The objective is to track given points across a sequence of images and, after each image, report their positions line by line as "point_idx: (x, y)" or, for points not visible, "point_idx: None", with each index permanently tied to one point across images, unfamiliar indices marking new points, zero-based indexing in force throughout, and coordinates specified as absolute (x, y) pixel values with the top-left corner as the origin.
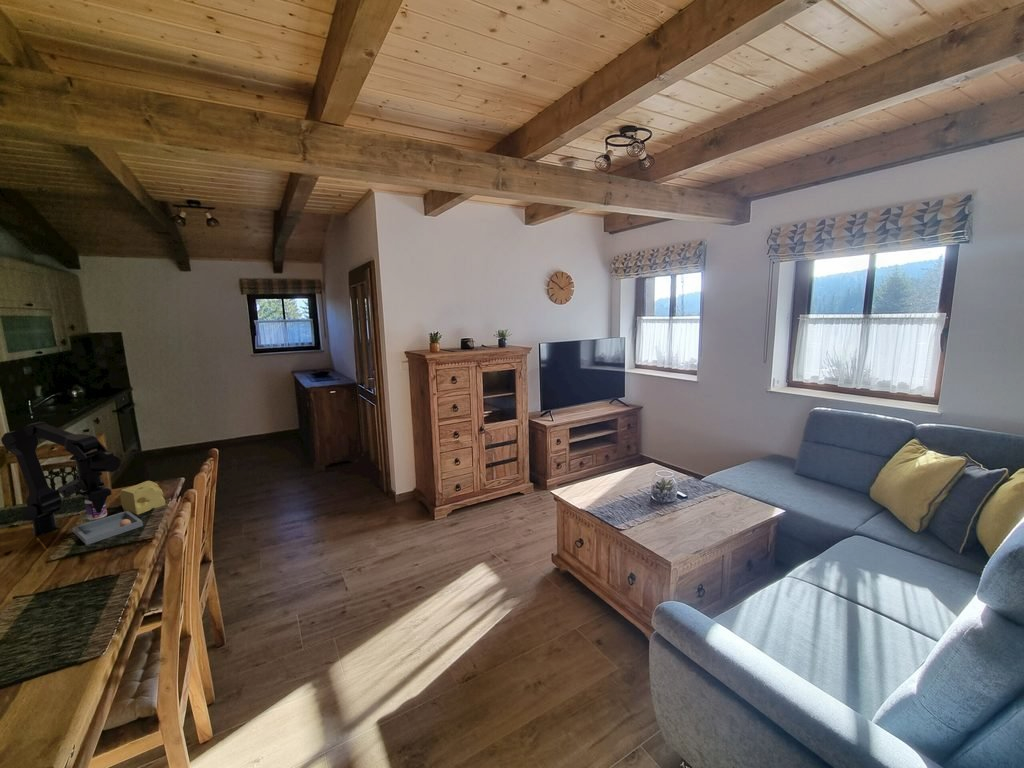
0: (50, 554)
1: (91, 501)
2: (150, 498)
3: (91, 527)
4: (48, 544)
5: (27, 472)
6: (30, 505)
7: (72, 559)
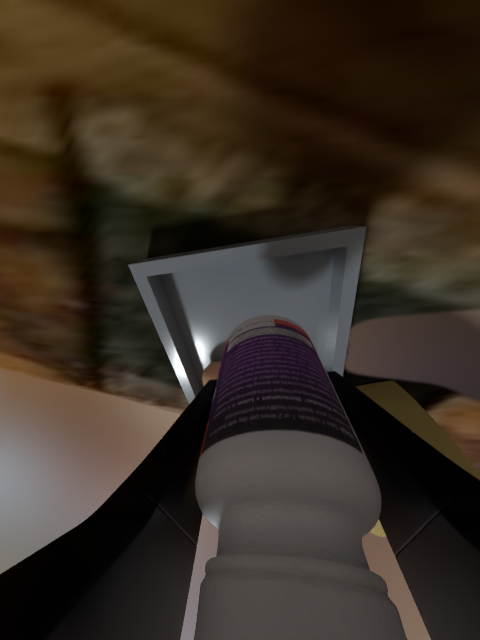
0: (154, 108)
1: (72, 529)
2: None
3: (331, 291)
4: (321, 95)
5: None
6: None
7: (39, 204)
